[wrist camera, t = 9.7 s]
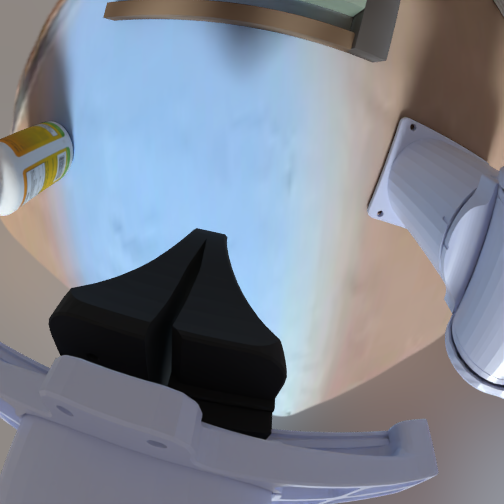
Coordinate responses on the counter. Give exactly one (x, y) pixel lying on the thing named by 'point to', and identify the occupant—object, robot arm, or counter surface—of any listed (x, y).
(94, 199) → the counter surface
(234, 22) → the guide channel
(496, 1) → the supplement box
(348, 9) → the block
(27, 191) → the supplement bottle
